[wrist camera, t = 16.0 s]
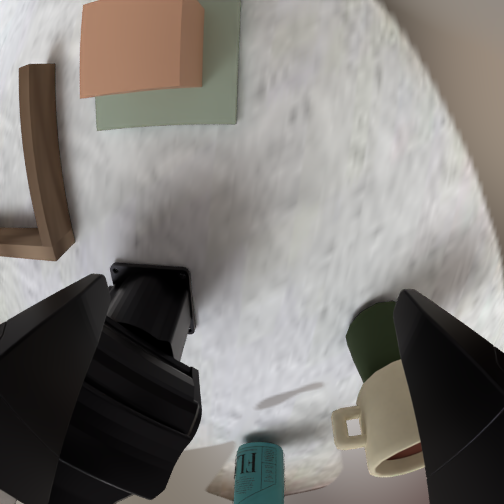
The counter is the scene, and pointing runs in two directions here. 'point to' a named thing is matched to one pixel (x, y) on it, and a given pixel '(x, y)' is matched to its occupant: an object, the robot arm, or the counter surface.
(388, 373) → the character mug
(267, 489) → the beverage bottle
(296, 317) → the counter surface
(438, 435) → the robot arm
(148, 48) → the block
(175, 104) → the mat
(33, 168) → the stall
